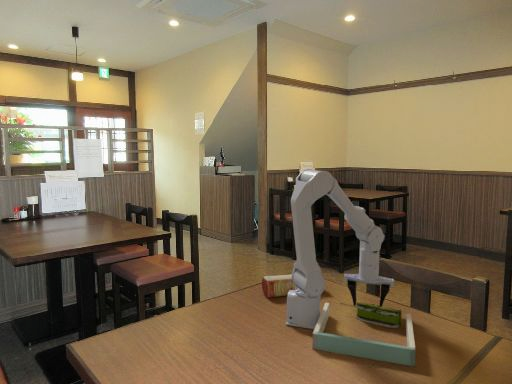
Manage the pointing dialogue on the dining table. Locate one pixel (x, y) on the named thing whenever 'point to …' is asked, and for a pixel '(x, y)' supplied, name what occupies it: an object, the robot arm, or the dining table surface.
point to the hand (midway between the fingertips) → (367, 306)
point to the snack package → (277, 285)
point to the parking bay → (364, 344)
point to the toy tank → (378, 315)
